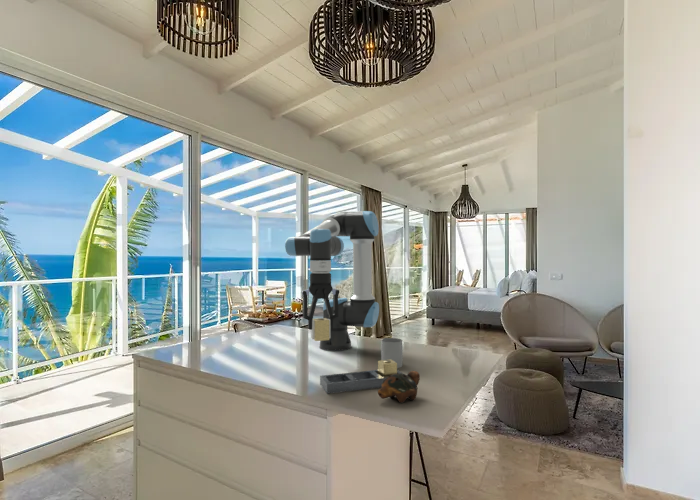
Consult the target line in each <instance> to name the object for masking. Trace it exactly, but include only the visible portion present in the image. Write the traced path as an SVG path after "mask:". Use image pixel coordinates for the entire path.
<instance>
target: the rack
mask: <svg viewBox="0 0 700 500" xmlns="http://www.w3.org/2000/svg"><path fill="white" fill-rule="evenodd" d="M398 373H402V374H404V373H403V372H401V371H400V370H399V369H397V374H398ZM387 377H389V376H387ZM387 377H381V376H380V375H379V374H378V369H375V370H374V369H372V370H365V371H362V370H361V371H355V372H342V373H333V374H325V375H323V374H322V375H319V385H320V386H321V388H322V389H323V391H324V392H325V393H326V394H327V395H328V394H335V393H344V392H345V391H346V392H353V391H362V389H363V390H370V389H381V388H382V382H383V381H384V379H386V378H387Z"/></svg>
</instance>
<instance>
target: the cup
mask: <svg viewBox="0 0 700 500" xmlns="http://www.w3.org/2000/svg"><path fill="white" fill-rule="evenodd" d="M380 341H381V342H380V343H381V346H380V347H381V352H380V353H381V354H380V355H381V356H380V357H381V359H380V360H390V359H391V360H393V361H394V362H396V363H397V369H399V368H402V367H403V340H402V339H400V338H395V337H388V338H387V337H386V338H385V337H384V338H382V339H381V340H380Z"/></svg>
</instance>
